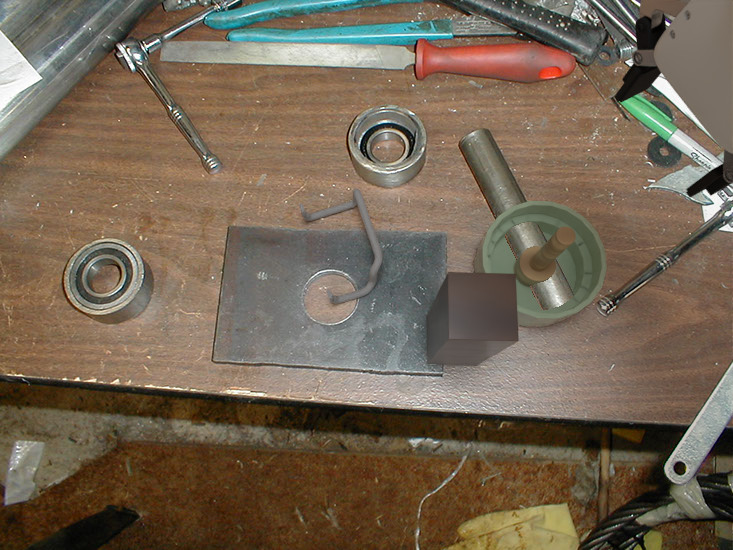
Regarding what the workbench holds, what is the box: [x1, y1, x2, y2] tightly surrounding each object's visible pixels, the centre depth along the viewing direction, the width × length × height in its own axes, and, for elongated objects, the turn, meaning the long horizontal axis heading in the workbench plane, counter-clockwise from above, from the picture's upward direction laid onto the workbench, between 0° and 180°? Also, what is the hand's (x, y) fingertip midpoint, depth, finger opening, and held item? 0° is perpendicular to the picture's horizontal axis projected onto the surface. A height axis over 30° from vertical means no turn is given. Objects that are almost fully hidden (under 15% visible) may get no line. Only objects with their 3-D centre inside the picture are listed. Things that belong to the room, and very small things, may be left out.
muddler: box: [514, 227, 576, 287], centre depth 63 cm, size 4×4×13 cm
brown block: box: [426, 271, 519, 367], centre depth 58 cm, size 6×6×20 cm
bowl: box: [473, 200, 608, 328], centre depth 67 cm, size 14×14×6 cm
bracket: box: [299, 188, 384, 304], centre depth 68 cm, size 13×8×5 cm, turn 18°
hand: (665, 138), depth 45 cm, fingers open, 9 cm apart
